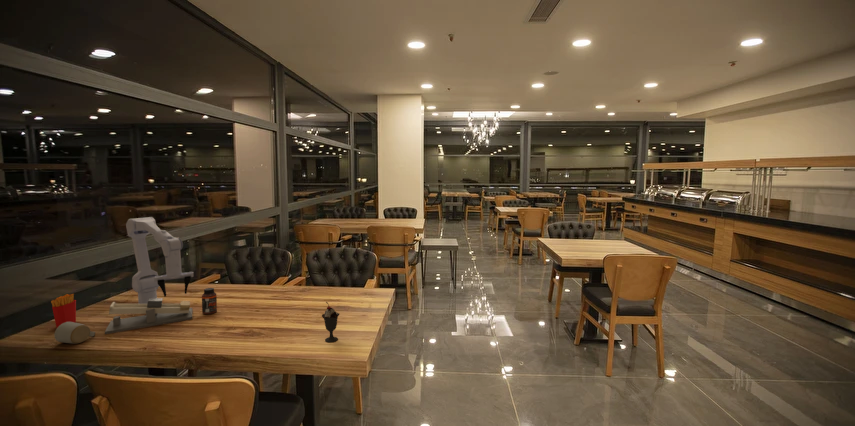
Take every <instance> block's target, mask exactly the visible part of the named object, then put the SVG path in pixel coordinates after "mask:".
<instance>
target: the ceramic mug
mask: <svg viewBox="0 0 855 426" xmlns="http://www.w3.org/2000/svg"><path fill="white" fill-rule="evenodd" d="M95 334H96V332H95V331H92V330H91V329H90V327H89V326H88V325H86V324H83V323H79V322H76V323H75V322H65V323H63V324H61V325H60V326H58V328H56V329H55V331H54V339H55V341H57V342H59V343H63V344H64V343H65V344H76V345H77V344H82V343H83V342H85V341H86V340H88V338H89V337H94V336H95Z"/></svg>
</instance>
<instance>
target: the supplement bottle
mask: <svg viewBox="0 0 855 426" xmlns="http://www.w3.org/2000/svg"><path fill="white" fill-rule="evenodd" d="M217 298H218V297H217V293H216V292H215V288H214V287H207V288H204V289H203V294H201V312H202V314H204V315H212V314H215V313H216V312H217V311H218V305H217V304H218V303H217V302H218V301H217Z"/></svg>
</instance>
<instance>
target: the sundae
mask: <svg viewBox="0 0 855 426" xmlns="http://www.w3.org/2000/svg"><path fill="white" fill-rule="evenodd" d="M325 303H326V304H327V307H326V310H325V311H324V313H322V314H321V317H322V319H323V321H324V326H325V329H326V330H327V331H328V332H329V337H326V338H325V339H324V342H326V343H335V342H337V341H339V338H338V337H337V336H334V334H333V332H334V331H335V330H336V329H337V326H338V317H339V316H340V313H339V312H337V311H336V310H335V309H334V308H333V307H331V306H330V305H329V303H328V301H325Z"/></svg>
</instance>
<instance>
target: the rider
mask: <svg viewBox="0 0 855 426" xmlns="http://www.w3.org/2000/svg"><path fill="white" fill-rule="evenodd" d="M163 300H164V298H163V297H162V298H161V297H160V298H159V297H157V298H149V300H148V305H147V308H161V307H162V304H163Z"/></svg>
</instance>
